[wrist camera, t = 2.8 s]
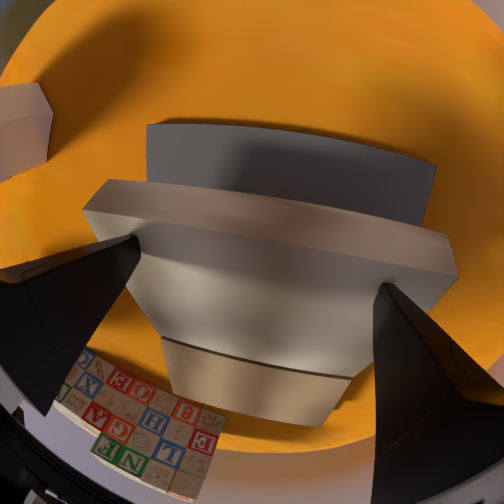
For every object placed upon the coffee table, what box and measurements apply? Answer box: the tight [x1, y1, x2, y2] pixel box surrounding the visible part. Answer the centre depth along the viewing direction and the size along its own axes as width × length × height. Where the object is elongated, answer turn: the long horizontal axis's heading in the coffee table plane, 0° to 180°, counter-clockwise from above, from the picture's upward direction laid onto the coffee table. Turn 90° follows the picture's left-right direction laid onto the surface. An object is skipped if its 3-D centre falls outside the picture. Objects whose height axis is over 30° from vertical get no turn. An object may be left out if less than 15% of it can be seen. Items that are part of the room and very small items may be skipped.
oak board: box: [160, 336, 351, 427], centre depth 20 cm, size 14×8×2 cm, turn 85°
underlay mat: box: [146, 123, 436, 414], centre depth 18 cm, size 16×24×1 cm, turn 175°
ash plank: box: [82, 179, 459, 377], centre depth 13 cm, size 14×12×2 cm
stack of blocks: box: [53, 348, 226, 503], centre depth 25 cm, size 21×6×12 cm, turn 73°
